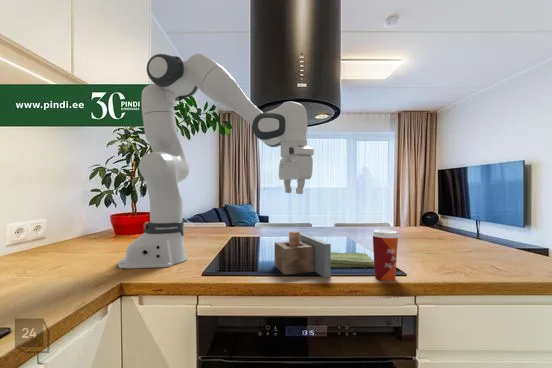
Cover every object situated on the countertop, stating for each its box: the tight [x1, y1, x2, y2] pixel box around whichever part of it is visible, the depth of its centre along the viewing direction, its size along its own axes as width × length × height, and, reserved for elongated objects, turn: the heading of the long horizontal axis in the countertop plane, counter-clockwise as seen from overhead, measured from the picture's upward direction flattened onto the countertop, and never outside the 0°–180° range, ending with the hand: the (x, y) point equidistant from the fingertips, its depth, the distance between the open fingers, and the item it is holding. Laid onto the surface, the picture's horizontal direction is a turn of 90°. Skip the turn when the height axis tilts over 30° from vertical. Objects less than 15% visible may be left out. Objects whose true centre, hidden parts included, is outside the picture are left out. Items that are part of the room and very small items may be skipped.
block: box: [274, 241, 315, 275], centre depth 96 cm, size 10×10×8 cm
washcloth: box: [331, 251, 374, 269], centre depth 103 cm, size 13×18×3 cm
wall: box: [297, 230, 332, 279], centre depth 98 cm, size 2×24×10 cm, turn 19°
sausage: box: [288, 230, 301, 247], centre depth 96 cm, size 4×4×12 cm
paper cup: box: [371, 229, 400, 282], centre depth 87 cm, size 8×8×14 cm
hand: (293, 193), depth 96 cm, fingers open, 8 cm apart
